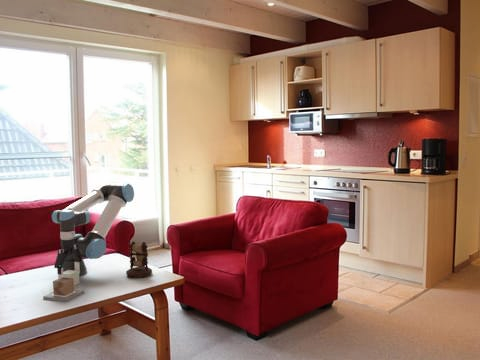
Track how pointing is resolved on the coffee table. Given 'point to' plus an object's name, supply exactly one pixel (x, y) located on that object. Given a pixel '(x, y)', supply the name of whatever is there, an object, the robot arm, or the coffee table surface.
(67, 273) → the sage block
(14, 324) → the coffee table surface
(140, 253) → the brown upright round-based piece
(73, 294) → the board
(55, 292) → the walnut block
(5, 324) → the coffee table surface
